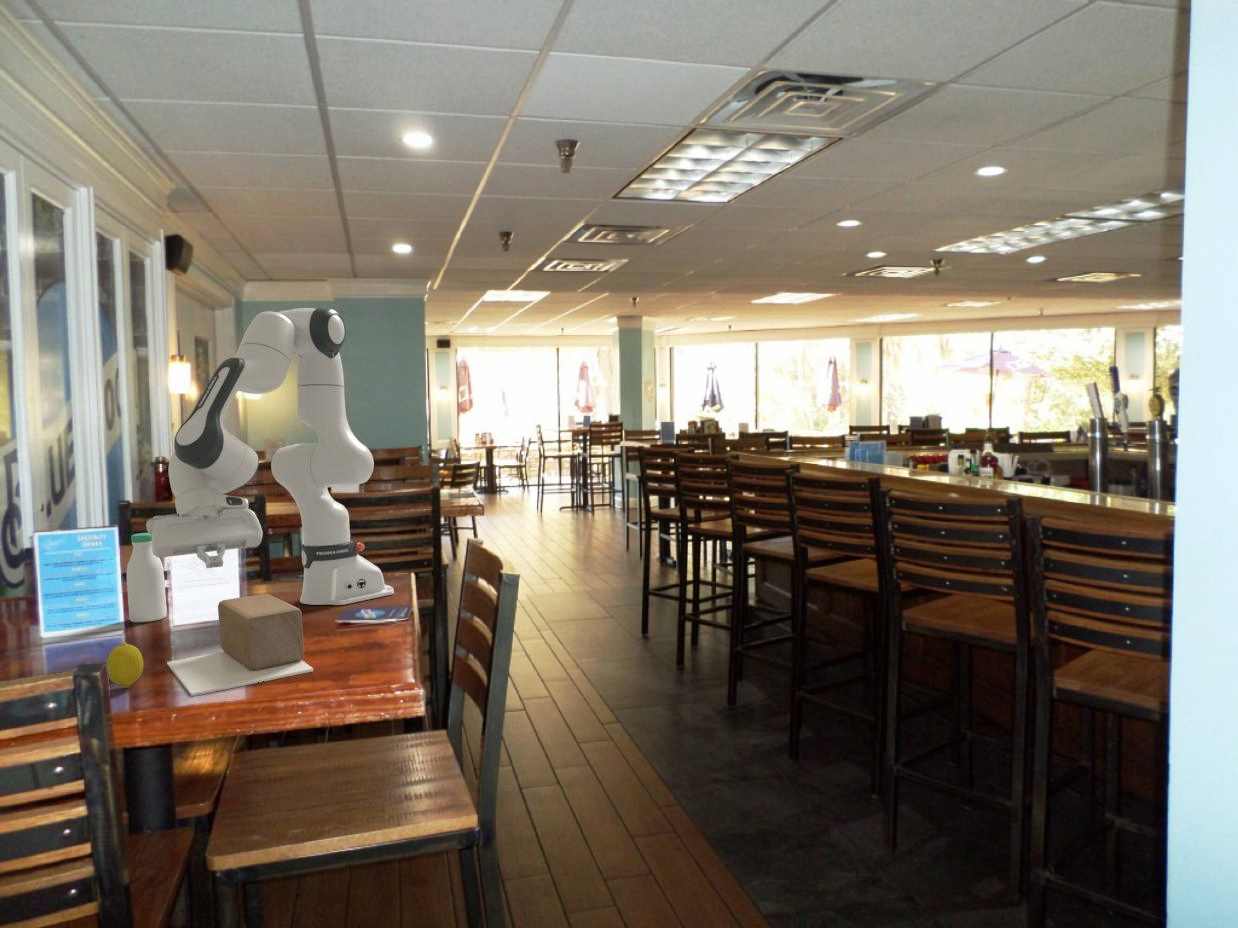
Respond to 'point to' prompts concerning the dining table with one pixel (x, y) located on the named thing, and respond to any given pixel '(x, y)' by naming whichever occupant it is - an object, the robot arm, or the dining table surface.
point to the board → (227, 672)
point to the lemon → (125, 665)
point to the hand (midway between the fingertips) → (215, 565)
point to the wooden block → (261, 631)
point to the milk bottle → (145, 582)
